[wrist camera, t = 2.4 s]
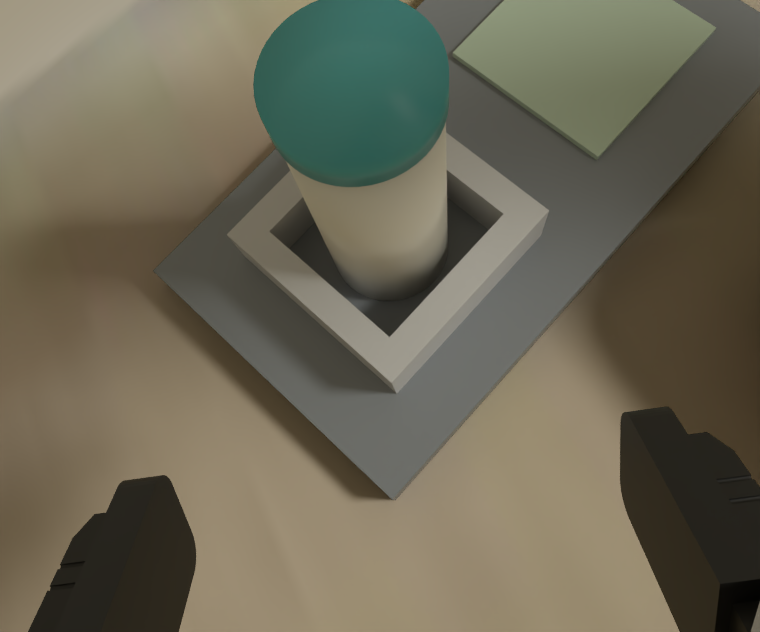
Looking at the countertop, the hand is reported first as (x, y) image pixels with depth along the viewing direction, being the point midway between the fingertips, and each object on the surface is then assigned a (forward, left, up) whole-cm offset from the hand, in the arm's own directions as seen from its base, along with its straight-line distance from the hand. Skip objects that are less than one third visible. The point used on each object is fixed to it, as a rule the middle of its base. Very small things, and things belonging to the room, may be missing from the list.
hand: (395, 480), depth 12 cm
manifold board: (-12, -8, -16) cm, 22 cm away
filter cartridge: (-7, -8, -15) cm, 18 cm away
